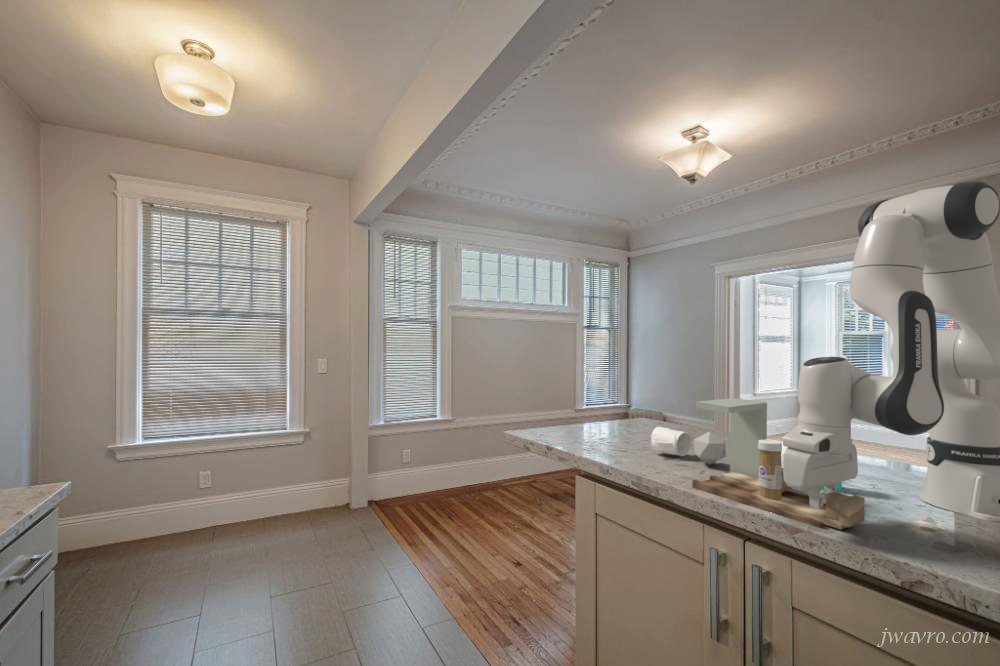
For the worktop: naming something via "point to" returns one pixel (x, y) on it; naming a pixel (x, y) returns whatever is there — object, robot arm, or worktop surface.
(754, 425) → the shelf
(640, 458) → the worktop surface
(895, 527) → the worktop surface
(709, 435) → the die
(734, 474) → the wooden slider block
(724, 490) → the lane board
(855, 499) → the bottle strip
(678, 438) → the mug
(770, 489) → the sprinkles bottle
